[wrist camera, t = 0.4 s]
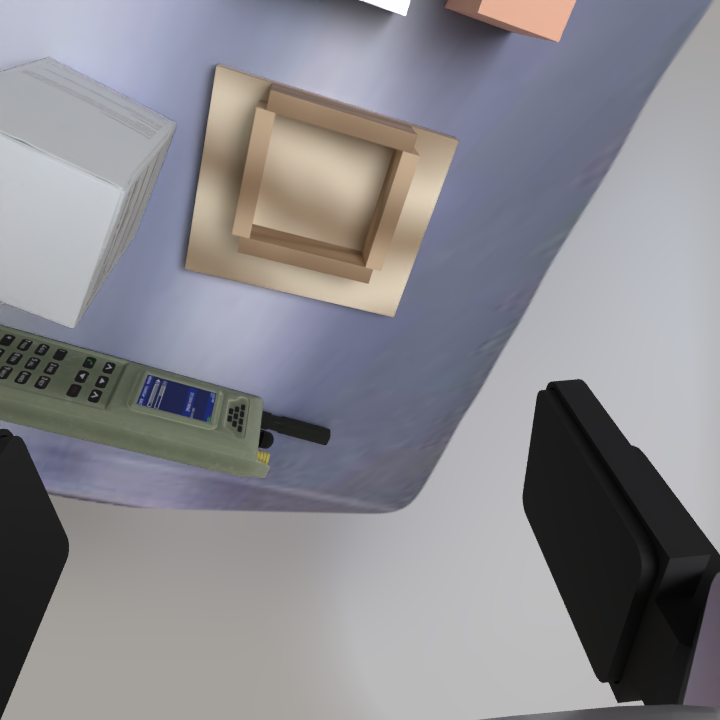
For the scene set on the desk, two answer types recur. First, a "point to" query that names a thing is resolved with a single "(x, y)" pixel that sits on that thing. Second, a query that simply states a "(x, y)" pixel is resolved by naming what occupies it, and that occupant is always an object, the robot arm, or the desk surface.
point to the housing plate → (391, 5)
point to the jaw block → (519, 15)
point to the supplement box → (70, 185)
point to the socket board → (312, 193)
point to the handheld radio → (137, 406)
